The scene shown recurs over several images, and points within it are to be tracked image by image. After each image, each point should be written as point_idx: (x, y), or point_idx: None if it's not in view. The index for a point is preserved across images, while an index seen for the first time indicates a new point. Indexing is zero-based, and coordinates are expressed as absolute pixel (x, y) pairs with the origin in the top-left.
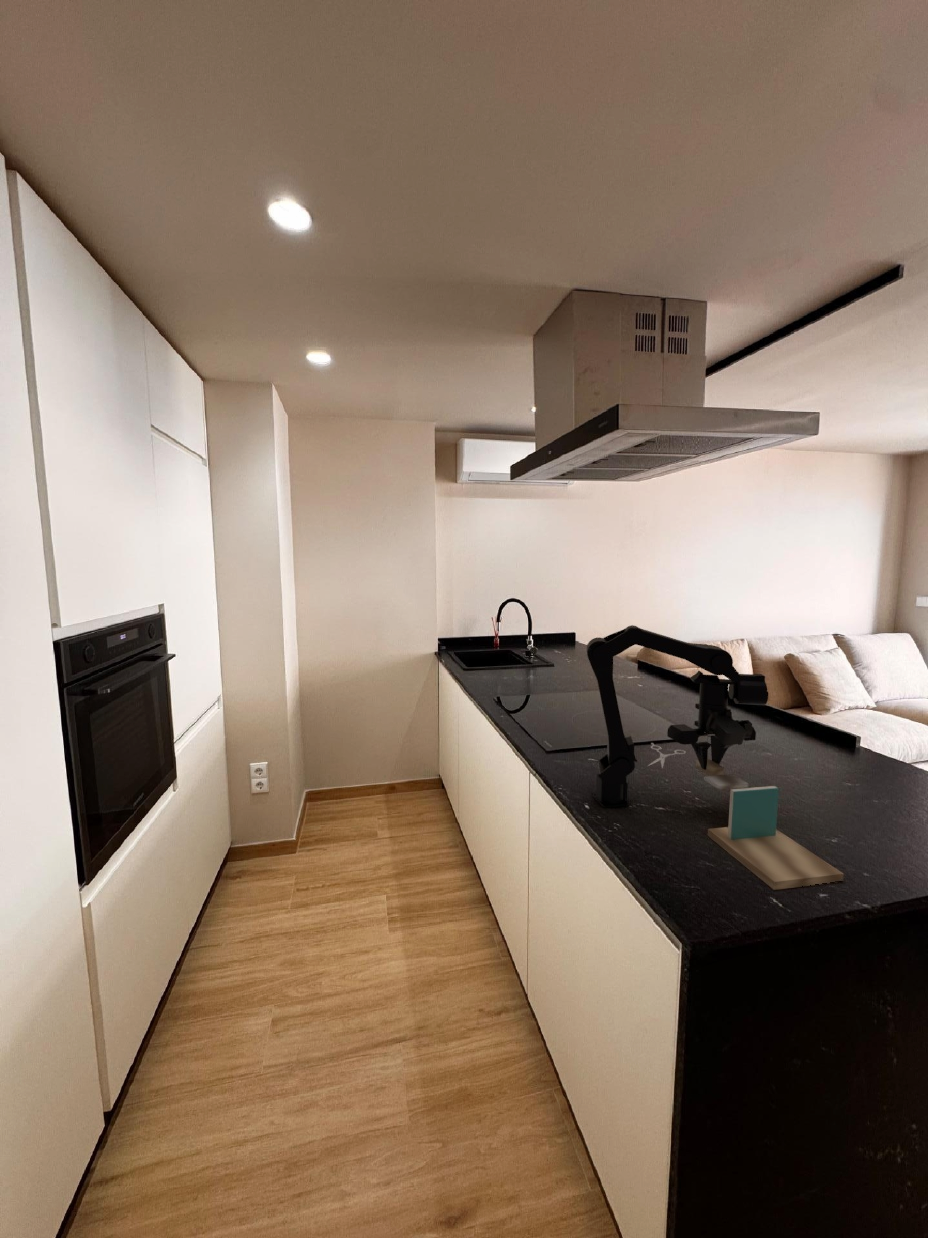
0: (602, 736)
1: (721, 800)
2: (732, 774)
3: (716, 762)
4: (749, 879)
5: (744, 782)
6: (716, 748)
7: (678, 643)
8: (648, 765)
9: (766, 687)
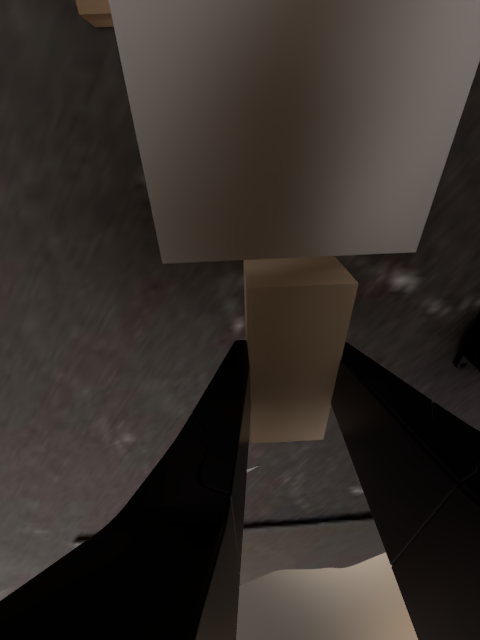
0: (266, 545)
1: (164, 306)
2: (165, 255)
3: (249, 373)
4: None
5: (140, 39)
6: (239, 513)
7: None
8: (253, 468)
9: None
